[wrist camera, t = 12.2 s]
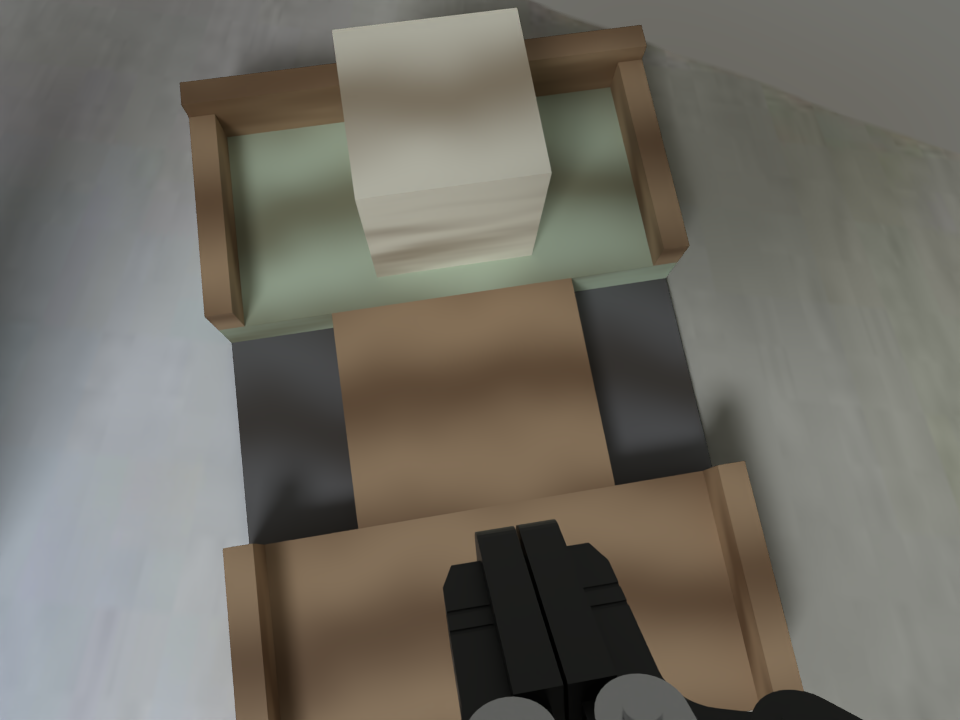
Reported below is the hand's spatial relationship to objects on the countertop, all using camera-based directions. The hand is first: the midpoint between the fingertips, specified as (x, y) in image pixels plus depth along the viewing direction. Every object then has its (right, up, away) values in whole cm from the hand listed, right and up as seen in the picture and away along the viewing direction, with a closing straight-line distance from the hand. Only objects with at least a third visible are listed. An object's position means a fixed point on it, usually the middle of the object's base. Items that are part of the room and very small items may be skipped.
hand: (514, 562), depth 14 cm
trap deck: (-1, +1, +23) cm, 23 cm away
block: (-2, +12, +23) cm, 26 cm away
